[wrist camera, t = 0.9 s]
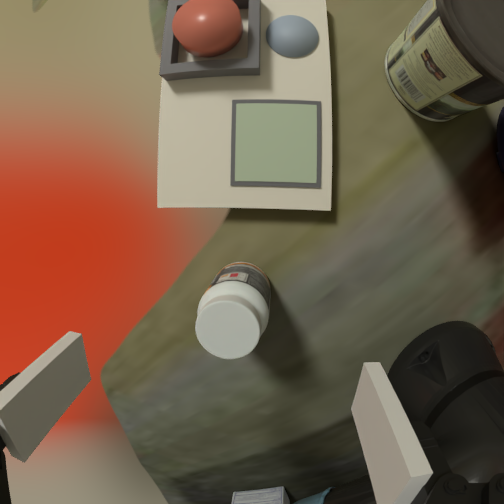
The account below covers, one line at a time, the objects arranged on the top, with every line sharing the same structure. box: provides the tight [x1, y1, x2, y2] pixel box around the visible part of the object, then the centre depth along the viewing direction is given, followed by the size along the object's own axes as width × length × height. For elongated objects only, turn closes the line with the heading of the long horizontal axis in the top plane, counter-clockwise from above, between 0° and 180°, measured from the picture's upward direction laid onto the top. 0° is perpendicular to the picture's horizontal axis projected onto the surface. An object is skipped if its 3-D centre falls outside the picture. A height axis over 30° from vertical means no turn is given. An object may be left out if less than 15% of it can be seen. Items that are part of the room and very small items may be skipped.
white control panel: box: [157, 0, 332, 211], centre depth 26 cm, size 22×16×4 cm
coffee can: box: [385, 0, 504, 122], centre depth 19 cm, size 10×10×14 cm
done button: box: [172, 0, 243, 58], centre depth 23 cm, size 6×6×2 cm
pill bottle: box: [195, 262, 271, 359], centre depth 27 cm, size 6×6×10 cm
